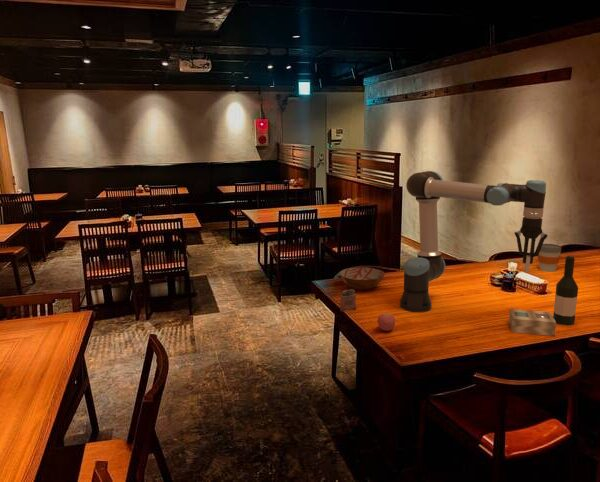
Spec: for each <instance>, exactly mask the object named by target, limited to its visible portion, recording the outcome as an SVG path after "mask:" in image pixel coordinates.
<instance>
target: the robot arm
mask: <svg viewBox="0 0 600 482" xmlns="http://www.w3.org/2000/svg"><path fill="white" fill-rule="evenodd" d="M405 185H406V191H407V192H408V193H409V195H410V196H412V197H415V201H416V202H417V203H418V217H419V242H420V243H419V245H420V246H419V248H420V250H419V251H418V252H417V254H416V255H417V257H412V258H409V259H407V260H406V261H404V267H403V277H404V278H403V292H402V295H401V297H400V299H399V307H400V309H403V310H405V311H408V312H413V313H423V312H428V311H430V310H432V307H433V306H432V299H431V297H430V293H429V286H430V283H429V282H432V281H434V280H437V279H439V278H440V277H441V276H442V275H444V272H445V270H446V262H445V260H444V258H443V257H442V252H441V251H440V250H439V234H438V233H439V231H438V229H439V227H438V201H439V200H440V199H441V198H444V199H454V200H459V201H460V200H461V201H462V200H463V201H470V202H477V203H486V204H490V205H492V206H496V207H497V206H503V205H504V204H506V203H507V204H508V203H511V202H515V203H524V204H523V210H522V211H523V213H522V216H523V217H522V221H521V227H520V228H519V230H517V231H514V236H515V238H516V243H517V249H518V250H517V251H518V253H519V255H522V264H524V267H523V268H524V272H529V271H530V266H531V265H532V264H533V263H534V262H533V261H534V257H538V255H539V252H540V250H541V247H542V245H543V244H544V242H545V240H546V239H547V238H548V234H547V233H545V232H544V231H543V229H542V227H543V219H542V218H543V216H544V209H545V208H544V207H545V199H546V193H547V183H546V182H545V181H544V180H538V179H537V180H535V179H532V180H531V179H530V180H527V181H526V183H525V184H517V183H507V182H504V183H503V182H501V183H498V184H497V185H490V184H480V183H473V182H472V183H471V182H464V181H463V182H462V181H452V180H444V179H443V177H442V175H440V173H439V172H437V171H433V170H426V171H421V172H415V173H413V174H411V175H409V177H408V179H407V181H406V184H405ZM521 235H522V237H523V238H524V244H523V248H522V242H521V241H522V239H521ZM539 237H540V238H539ZM538 238H539V240H538V243H537V246H536V239H538ZM529 242H530V251H529V255H528V248H529ZM535 247H536V249H535Z"/></svg>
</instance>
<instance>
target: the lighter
mask: <svg viewBox="0 0 600 482" xmlns="http://www.w3.org/2000/svg"><path fill="white" fill-rule="evenodd" d="M355 290H356V289H354V288H352V289H349V290H348V289H345V290H342V294H340V295H339V301H340V303H339V304H340V307H339V312H346V311H345V310H352V311H354V310H353V309H356V310H357V306H356V303H357V301H356V300H357V298H356V297H357V294H356V292H355Z"/></svg>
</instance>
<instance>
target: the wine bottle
mask: <svg viewBox="0 0 600 482" xmlns="http://www.w3.org/2000/svg"><path fill="white" fill-rule="evenodd" d="M574 268H575V256H574V255H570V254H568V255H566V257H565V262H564V270H563V271H564V272H563V276H562V277H561V278H560V280H558V281H557V283H556V286H555V295H554V306H553V315H552V316H553V318H554V320H555V321H556V325H557V324H558V325H560V324H561V326H569V325H570V326H573V325H575V320H576V311H577V304H578V303H577V302H578V301H577V300H578V295H579V286H578V284H577V282H576V280H575V279H574V277H573V276H574Z"/></svg>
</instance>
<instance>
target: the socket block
mask: <svg viewBox="0 0 600 482" xmlns="http://www.w3.org/2000/svg"><path fill="white" fill-rule="evenodd" d="M518 312H523V313H526V314H527V317H521V316H516V314H517V313H518ZM537 314H545V315H547V316H548V319H545V318H537ZM508 316H509V317H508V323H509V326H510V329H511V332H512V333H515V334H516V333H518V334H519V333H520V334H528V335H540V336H548V337H549V336H550V337H555V336H556V329H557V328H556V325H557V323H556V321H555V320H554V318H553V315H552V313H551V311H542V310H529V309H517V308H516V309H515V308H509V314H508Z"/></svg>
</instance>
